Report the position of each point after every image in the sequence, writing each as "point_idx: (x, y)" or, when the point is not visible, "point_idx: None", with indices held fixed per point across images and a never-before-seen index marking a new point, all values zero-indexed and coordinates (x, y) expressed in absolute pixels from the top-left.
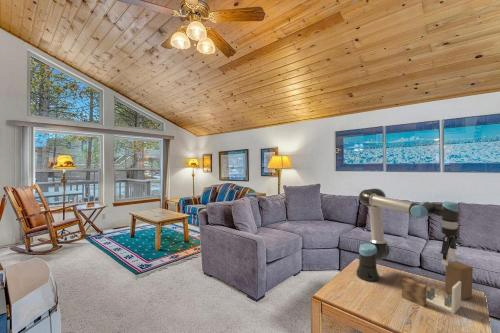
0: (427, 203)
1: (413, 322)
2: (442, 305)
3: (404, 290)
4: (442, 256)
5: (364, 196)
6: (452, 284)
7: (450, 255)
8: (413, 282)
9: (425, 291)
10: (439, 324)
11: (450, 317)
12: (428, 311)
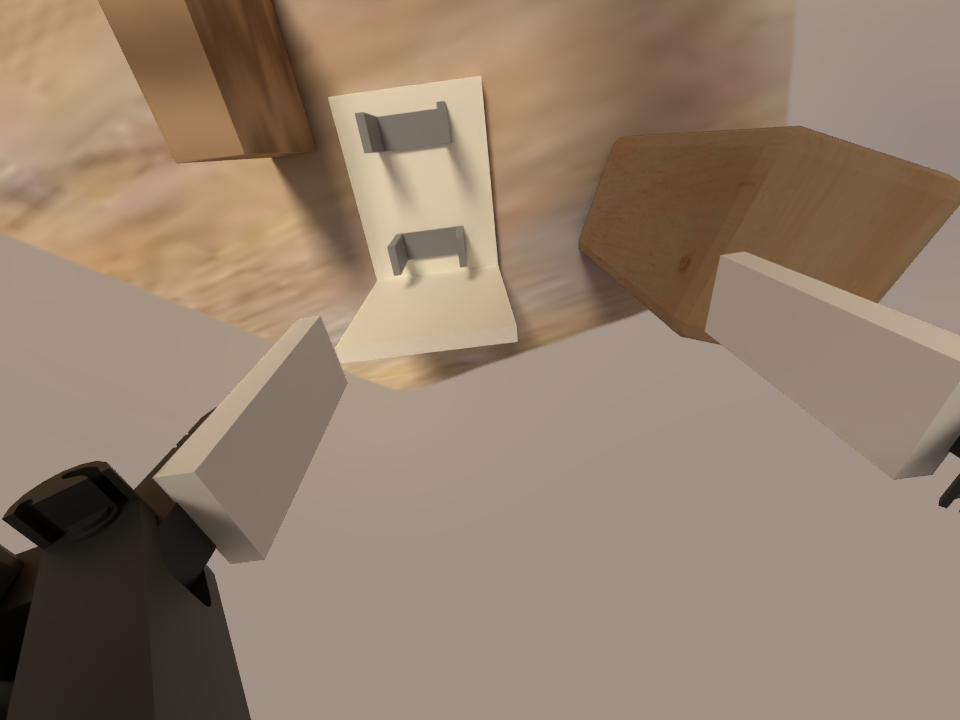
0: None
1: (63, 213)
2: (384, 228)
3: None
4: (217, 420)
5: None
6: (623, 204)
7: (760, 305)
8: (133, 19)
9: (244, 156)
10: (214, 292)
11: (332, 292)
12: (258, 202)
